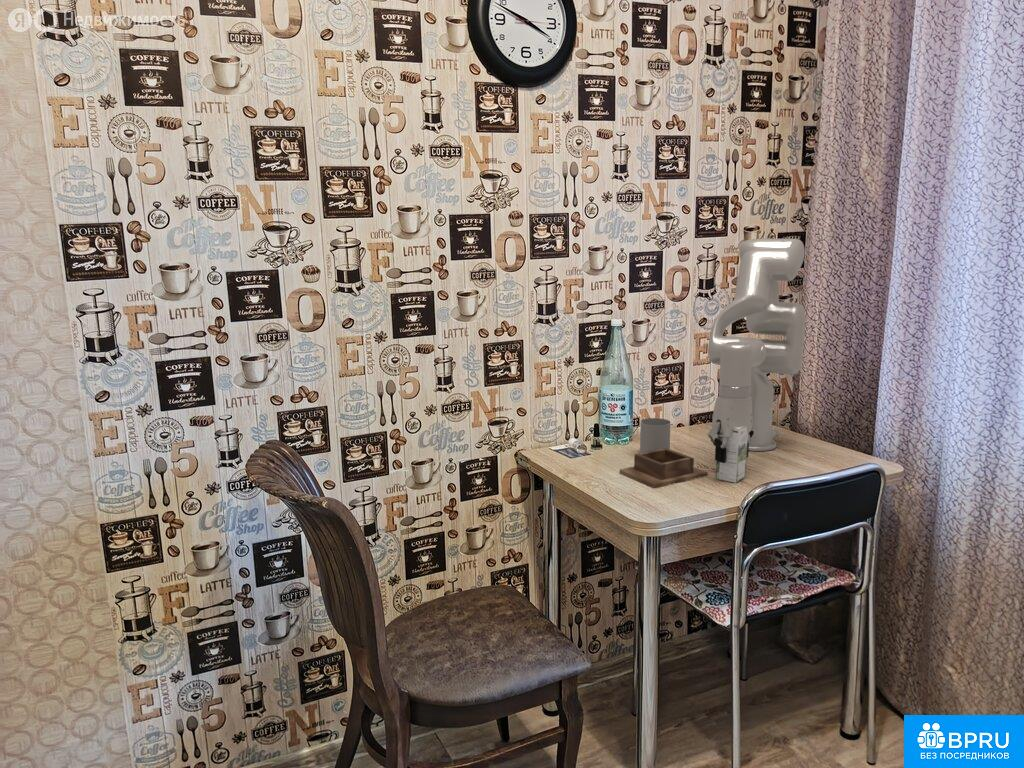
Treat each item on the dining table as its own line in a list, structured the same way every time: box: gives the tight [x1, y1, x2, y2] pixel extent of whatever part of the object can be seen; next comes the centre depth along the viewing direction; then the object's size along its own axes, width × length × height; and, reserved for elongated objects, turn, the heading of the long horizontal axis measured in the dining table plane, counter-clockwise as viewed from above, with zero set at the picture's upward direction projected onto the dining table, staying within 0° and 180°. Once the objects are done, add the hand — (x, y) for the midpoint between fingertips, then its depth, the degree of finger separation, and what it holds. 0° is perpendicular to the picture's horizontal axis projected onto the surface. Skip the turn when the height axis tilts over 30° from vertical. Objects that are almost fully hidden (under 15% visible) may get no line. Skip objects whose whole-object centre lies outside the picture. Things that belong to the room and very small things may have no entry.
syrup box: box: [715, 426, 748, 484], centre depth 192 cm, size 6×6×14 cm
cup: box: [639, 417, 671, 453], centre depth 213 cm, size 8×8×10 cm
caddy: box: [619, 448, 709, 489], centre depth 198 cm, size 18×14×5 cm
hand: (731, 458), depth 193 cm, fingers closed on syrup box, 7 cm apart
